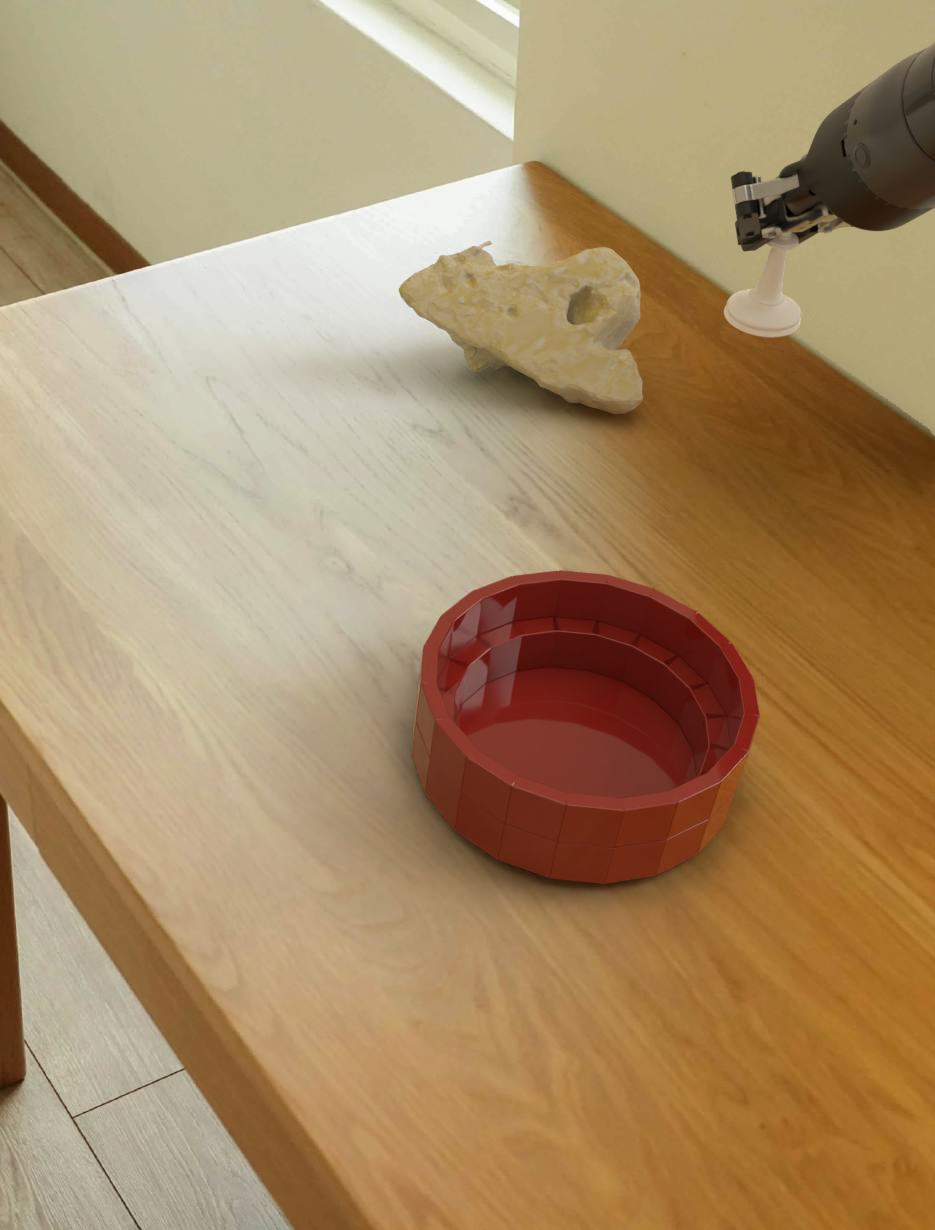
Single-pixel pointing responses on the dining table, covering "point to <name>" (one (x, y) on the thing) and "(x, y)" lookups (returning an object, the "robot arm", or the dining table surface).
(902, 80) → the robot arm
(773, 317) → the chess piece
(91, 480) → the dining table surface
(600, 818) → the bowl
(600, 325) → the beige rock
